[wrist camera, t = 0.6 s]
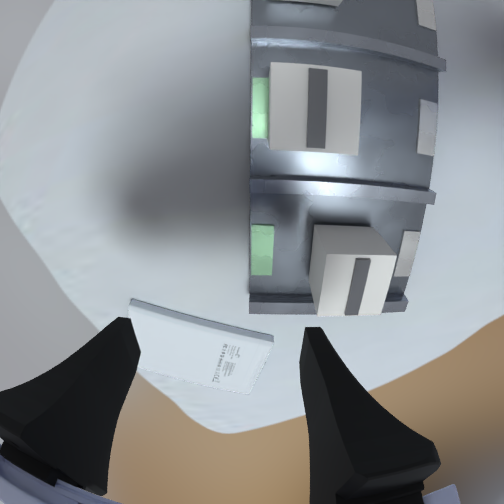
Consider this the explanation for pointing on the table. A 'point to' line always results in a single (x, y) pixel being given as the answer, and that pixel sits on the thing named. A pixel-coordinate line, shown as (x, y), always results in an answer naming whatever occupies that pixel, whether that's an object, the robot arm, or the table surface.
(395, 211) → the panel
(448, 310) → the table surface
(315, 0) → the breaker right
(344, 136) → the block
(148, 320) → the external hard drive
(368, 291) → the breaker
